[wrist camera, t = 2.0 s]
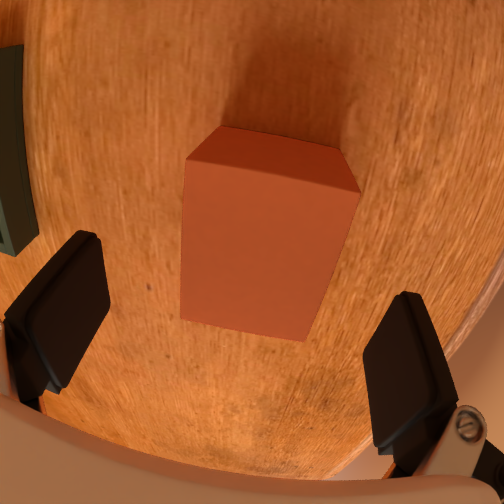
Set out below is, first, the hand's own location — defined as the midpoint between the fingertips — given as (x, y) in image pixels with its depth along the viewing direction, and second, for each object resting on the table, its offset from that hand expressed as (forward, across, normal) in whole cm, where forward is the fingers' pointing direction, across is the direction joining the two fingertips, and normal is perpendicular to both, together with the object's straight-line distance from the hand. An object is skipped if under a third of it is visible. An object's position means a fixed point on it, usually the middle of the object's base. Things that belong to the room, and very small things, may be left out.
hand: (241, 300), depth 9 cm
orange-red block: (+6, 0, 0) cm, 6 cm away
